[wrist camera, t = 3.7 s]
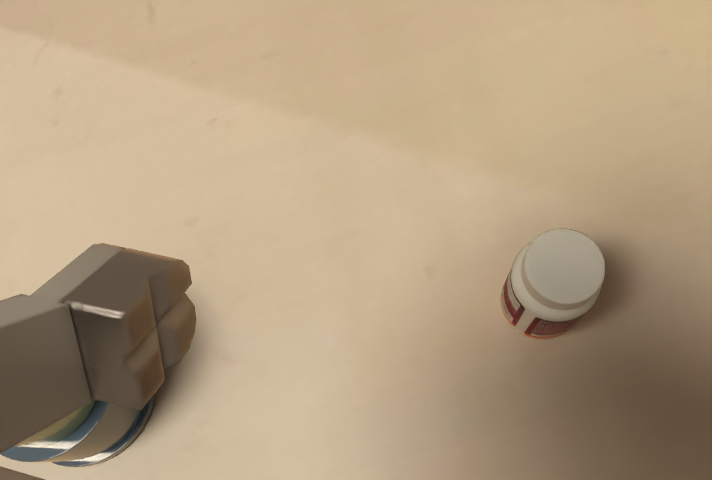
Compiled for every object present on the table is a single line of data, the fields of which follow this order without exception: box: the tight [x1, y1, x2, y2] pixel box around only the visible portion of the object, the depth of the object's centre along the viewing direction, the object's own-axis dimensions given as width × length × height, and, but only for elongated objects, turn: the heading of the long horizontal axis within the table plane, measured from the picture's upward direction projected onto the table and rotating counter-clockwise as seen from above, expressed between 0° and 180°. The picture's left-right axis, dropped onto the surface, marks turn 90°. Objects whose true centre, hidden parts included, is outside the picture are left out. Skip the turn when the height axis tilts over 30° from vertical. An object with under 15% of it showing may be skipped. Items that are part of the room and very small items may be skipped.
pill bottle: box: [501, 228, 605, 339], centre depth 38 cm, size 5×5×8 cm
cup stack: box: [1, 392, 156, 467], centre depth 38 cm, size 9×9×10 cm
